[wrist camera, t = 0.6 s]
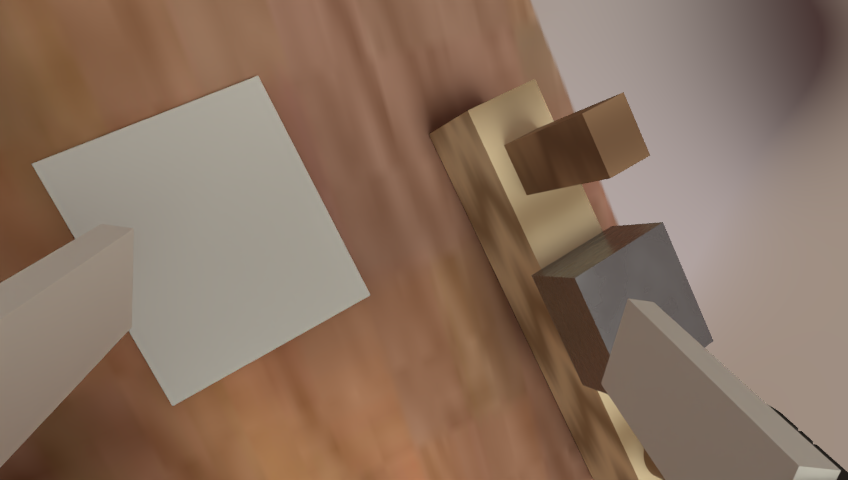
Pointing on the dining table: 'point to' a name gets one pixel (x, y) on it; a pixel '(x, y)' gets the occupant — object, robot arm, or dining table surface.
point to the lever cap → (615, 292)
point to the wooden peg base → (546, 234)
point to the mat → (210, 233)
